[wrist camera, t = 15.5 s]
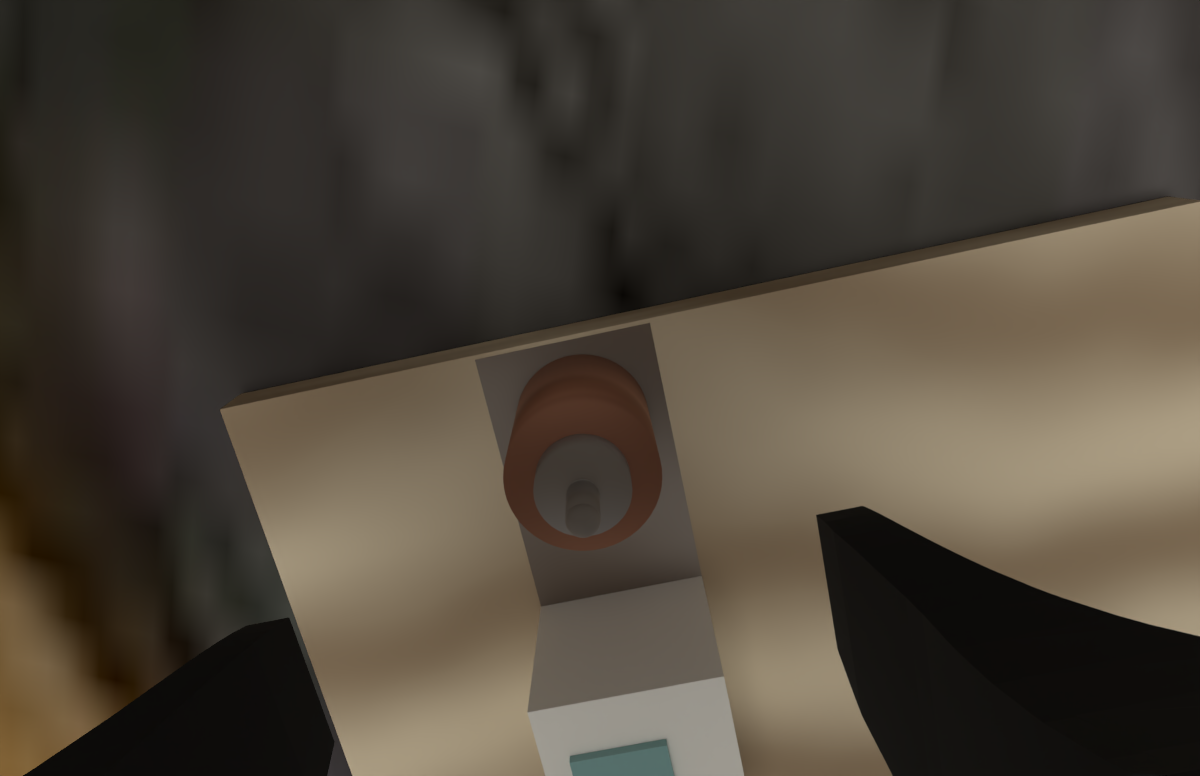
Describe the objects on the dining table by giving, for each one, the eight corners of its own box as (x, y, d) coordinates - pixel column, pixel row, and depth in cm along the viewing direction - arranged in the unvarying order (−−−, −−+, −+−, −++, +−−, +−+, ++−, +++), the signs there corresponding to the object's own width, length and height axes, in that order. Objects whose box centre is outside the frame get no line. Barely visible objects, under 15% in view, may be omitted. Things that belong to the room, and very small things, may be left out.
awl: (661, 461, 20) (691, 584, 15) (537, 492, 20) (520, 626, 15) (630, 339, 19) (649, 421, 14) (500, 373, 19) (468, 468, 14)
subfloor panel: (1182, 711, 23) (1213, 742, 22) (401, 848, 25) (391, 884, 24) (1168, 196, 19) (1204, 201, 18) (241, 393, 21) (219, 409, 20)
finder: (743, 776, 23) (773, 916, 19) (593, 802, 23) (591, 946, 19) (701, 576, 21) (724, 682, 17) (540, 606, 21) (526, 718, 17)
